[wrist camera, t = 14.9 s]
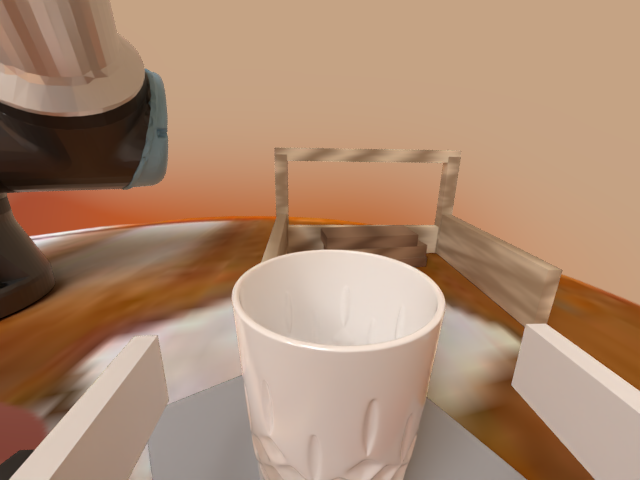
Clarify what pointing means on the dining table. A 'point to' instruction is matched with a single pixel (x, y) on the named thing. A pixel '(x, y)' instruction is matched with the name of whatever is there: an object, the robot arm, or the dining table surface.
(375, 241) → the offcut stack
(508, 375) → the dining table surface
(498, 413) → the dining table surface
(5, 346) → the dining table surface
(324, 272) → the white cup
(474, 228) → the frame
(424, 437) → the rubber mat
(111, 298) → the dining table surface
